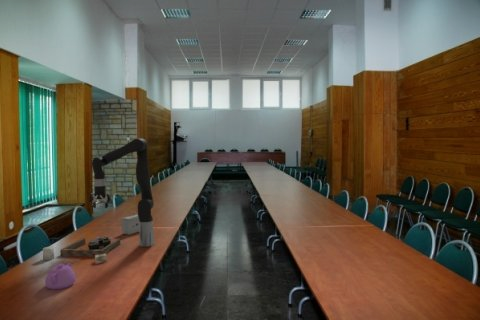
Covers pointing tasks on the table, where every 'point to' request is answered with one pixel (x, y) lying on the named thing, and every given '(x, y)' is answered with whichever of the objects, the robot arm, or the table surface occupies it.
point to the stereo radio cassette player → (130, 224)
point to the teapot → (60, 277)
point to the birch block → (100, 258)
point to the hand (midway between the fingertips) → (100, 207)
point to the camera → (99, 243)
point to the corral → (73, 250)
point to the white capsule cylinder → (48, 253)
